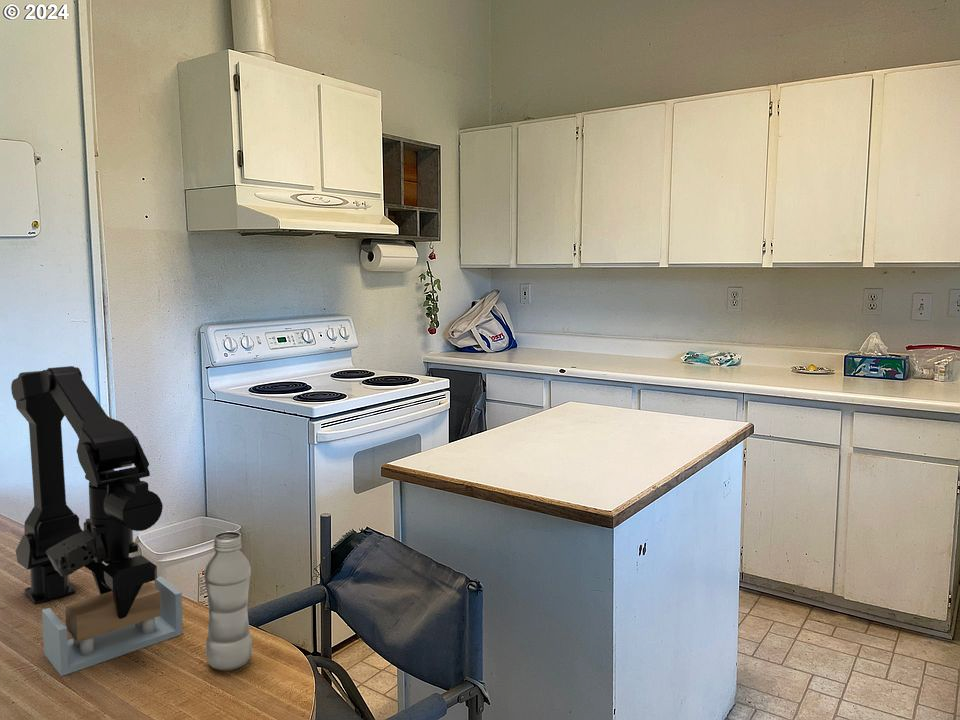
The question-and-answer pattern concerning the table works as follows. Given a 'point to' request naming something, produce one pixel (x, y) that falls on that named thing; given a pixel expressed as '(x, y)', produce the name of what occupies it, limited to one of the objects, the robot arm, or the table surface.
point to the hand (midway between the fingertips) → (114, 610)
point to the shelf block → (109, 613)
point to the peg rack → (112, 635)
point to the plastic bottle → (228, 604)
